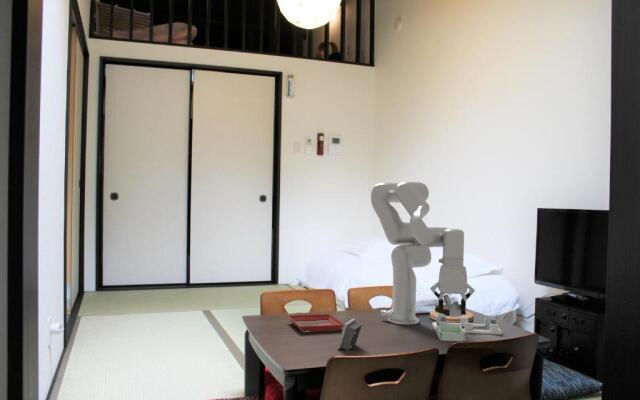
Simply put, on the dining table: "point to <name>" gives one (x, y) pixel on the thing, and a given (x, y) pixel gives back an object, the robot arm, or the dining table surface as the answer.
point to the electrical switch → (349, 334)
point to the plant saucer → (334, 321)
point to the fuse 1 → (441, 318)
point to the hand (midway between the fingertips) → (451, 310)
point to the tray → (450, 333)
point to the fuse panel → (469, 326)
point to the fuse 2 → (490, 321)
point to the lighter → (453, 307)
